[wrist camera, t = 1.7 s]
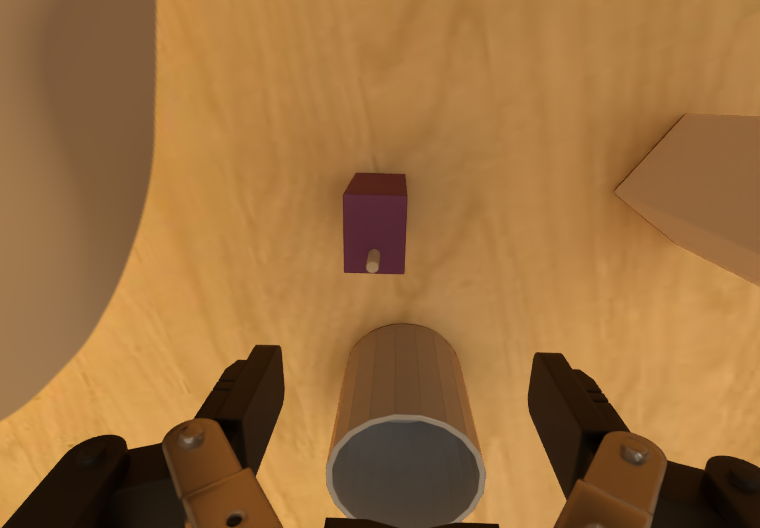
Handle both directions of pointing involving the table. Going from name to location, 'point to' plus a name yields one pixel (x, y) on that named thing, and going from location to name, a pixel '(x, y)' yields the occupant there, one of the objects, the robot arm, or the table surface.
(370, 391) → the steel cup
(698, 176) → the milk
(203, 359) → the table surface
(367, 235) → the juice box
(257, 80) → the table surface
